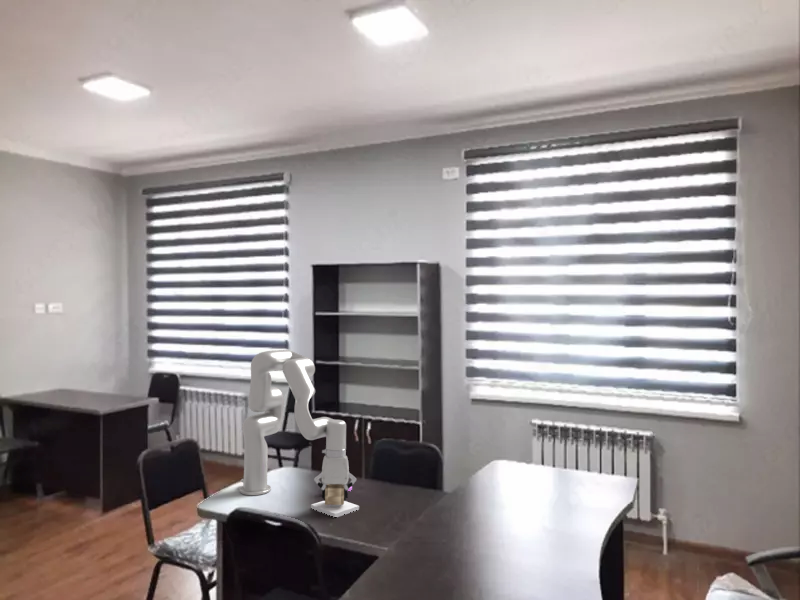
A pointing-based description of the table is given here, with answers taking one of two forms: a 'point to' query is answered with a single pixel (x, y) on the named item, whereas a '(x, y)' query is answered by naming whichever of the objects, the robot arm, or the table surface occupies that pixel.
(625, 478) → the table surface
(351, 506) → the plate
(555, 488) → the table surface
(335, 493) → the wooden collar
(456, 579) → the table surface
